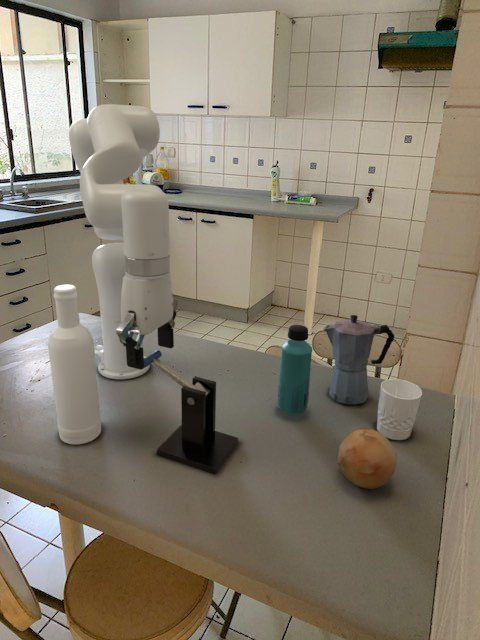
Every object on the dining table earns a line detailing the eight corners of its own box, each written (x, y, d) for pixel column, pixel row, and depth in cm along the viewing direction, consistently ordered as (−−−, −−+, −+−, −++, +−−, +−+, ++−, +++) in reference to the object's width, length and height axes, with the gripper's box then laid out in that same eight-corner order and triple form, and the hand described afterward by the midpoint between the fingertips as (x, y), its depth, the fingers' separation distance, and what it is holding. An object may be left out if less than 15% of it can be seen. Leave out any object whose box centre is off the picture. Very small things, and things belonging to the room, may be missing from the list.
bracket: (157, 454, 86) (154, 389, 80) (184, 426, 94) (183, 366, 89) (215, 474, 81) (216, 407, 76) (238, 442, 90) (240, 380, 85)
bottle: (50, 438, 89) (29, 290, 78) (77, 417, 96) (62, 278, 84) (84, 449, 86) (67, 297, 75) (110, 427, 93) (98, 284, 82)
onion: (404, 495, 78) (414, 446, 74) (351, 506, 75) (360, 455, 72) (373, 458, 87) (381, 413, 83) (325, 467, 84) (331, 420, 80)
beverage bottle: (305, 422, 97) (314, 335, 89) (274, 418, 98) (280, 331, 91) (307, 406, 103) (316, 323, 95) (278, 402, 104) (284, 319, 96)
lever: (138, 366, 84) (142, 357, 82) (153, 356, 88) (157, 346, 87) (195, 409, 81) (201, 400, 80) (208, 396, 86) (214, 387, 84)
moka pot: (314, 383, 112) (322, 306, 105) (377, 386, 112) (390, 309, 105) (319, 404, 104) (328, 322, 96) (388, 408, 103) (403, 325, 96)
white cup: (385, 415, 101) (392, 374, 97) (420, 431, 95) (429, 389, 92) (366, 429, 95) (373, 387, 92) (401, 447, 90) (410, 403, 86)
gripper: (157, 252, 87) (160, 336, 93) (95, 274, 72) (103, 371, 79) (192, 257, 84) (192, 343, 91) (135, 281, 70) (140, 381, 76)
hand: (151, 356), depth 85 cm, fingers open, 9 cm apart
